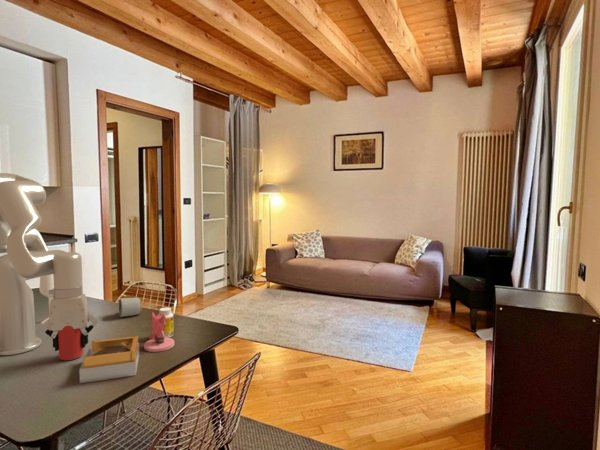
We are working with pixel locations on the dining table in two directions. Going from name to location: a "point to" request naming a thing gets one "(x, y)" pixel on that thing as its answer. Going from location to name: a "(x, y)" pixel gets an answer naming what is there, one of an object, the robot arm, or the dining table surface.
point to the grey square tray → (110, 359)
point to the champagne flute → (47, 288)
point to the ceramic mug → (130, 306)
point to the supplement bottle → (168, 321)
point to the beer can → (70, 343)
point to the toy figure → (158, 335)
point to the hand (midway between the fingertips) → (71, 347)
